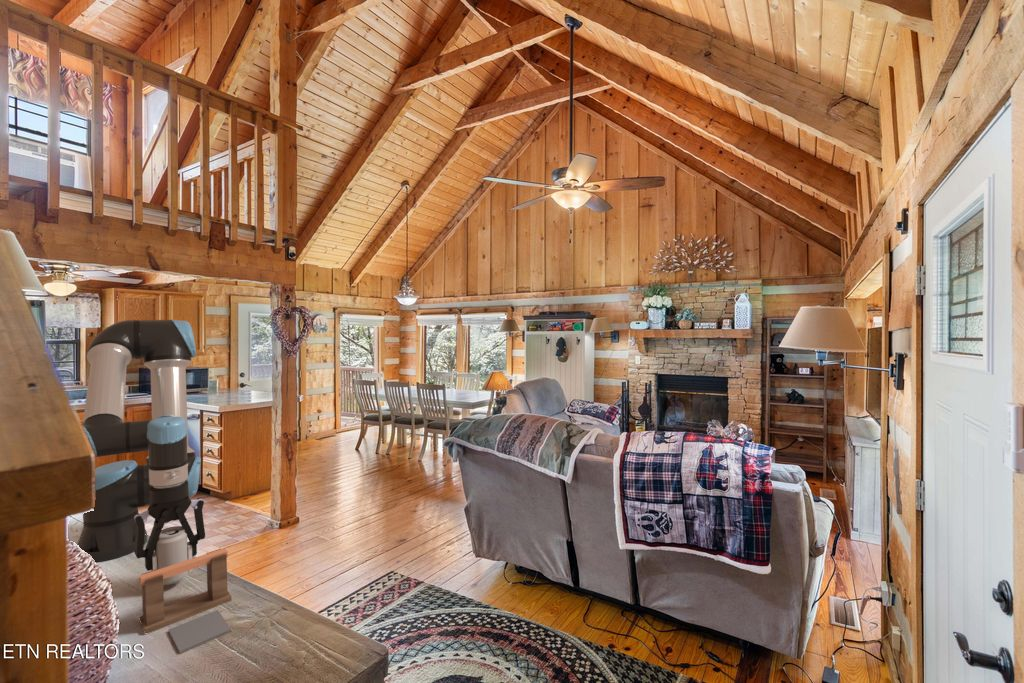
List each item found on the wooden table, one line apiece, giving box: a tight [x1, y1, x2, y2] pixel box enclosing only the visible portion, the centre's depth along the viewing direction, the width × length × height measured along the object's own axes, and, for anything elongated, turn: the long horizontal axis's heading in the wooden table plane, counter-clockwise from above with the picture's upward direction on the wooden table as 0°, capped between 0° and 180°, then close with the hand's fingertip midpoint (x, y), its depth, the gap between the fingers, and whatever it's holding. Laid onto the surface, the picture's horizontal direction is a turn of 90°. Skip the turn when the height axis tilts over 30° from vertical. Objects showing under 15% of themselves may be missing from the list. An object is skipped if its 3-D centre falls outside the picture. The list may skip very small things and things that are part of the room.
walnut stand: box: [138, 548, 233, 634], centre depth 105 cm, size 6×16×11 cm, turn 138°
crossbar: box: [138, 547, 229, 587], centre depth 104 cm, size 2×16×2 cm, turn 137°
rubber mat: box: [168, 609, 232, 654], centre depth 98 cm, size 9×9×1 cm
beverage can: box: [154, 525, 189, 586], centre depth 114 cm, size 6×6×12 cm
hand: (172, 574), depth 114 cm, fingers closed on beverage can, 6 cm apart
